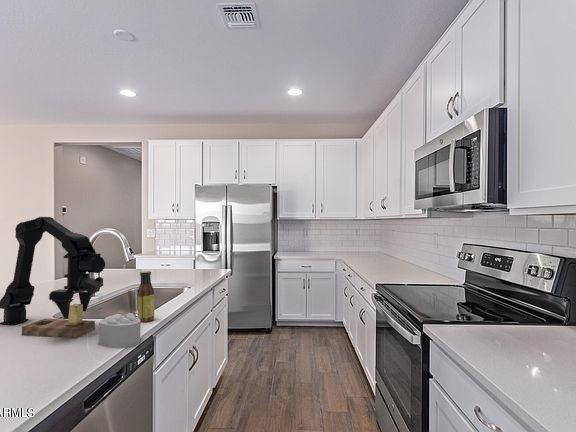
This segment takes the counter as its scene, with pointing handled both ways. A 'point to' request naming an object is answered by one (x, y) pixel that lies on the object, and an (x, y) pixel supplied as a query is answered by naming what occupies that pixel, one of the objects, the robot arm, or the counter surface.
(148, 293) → the sauce bottle
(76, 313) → the pin
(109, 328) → the lumpy-topped squat cylinder
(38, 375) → the counter surface
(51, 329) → the mount board
